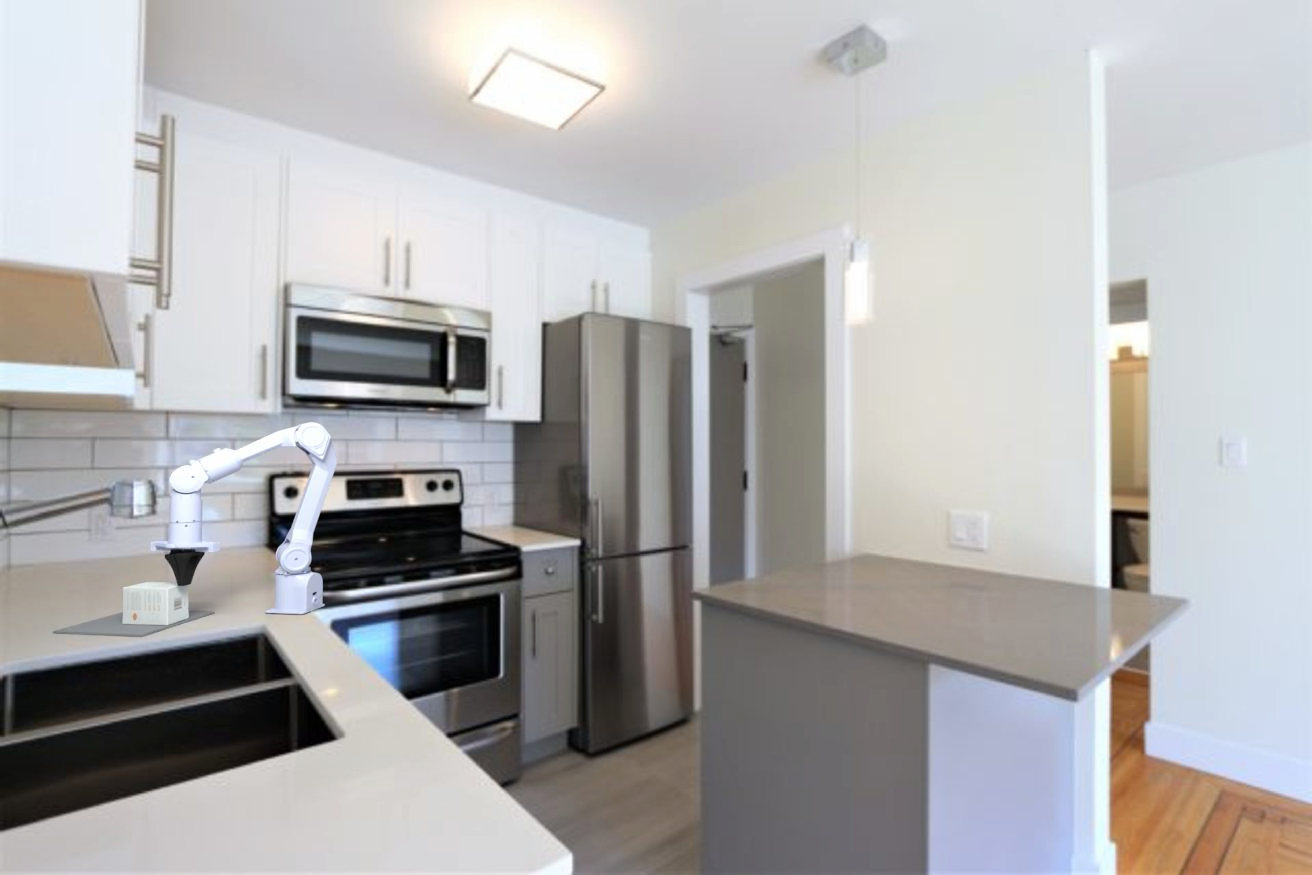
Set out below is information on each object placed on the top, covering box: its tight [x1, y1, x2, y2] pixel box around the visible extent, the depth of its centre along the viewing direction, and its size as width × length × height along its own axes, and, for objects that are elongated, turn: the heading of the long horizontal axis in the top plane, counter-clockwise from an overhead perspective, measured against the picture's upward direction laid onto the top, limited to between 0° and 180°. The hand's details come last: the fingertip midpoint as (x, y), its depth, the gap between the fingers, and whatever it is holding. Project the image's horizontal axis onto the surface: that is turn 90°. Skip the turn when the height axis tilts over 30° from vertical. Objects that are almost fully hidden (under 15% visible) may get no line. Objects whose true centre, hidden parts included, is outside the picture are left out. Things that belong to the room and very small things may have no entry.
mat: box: [52, 609, 216, 638], centre depth 135 cm, size 20×18×1 cm
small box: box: [122, 581, 190, 626], centre depth 134 cm, size 8×6×10 cm
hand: (184, 584), depth 134 cm, fingers closed
